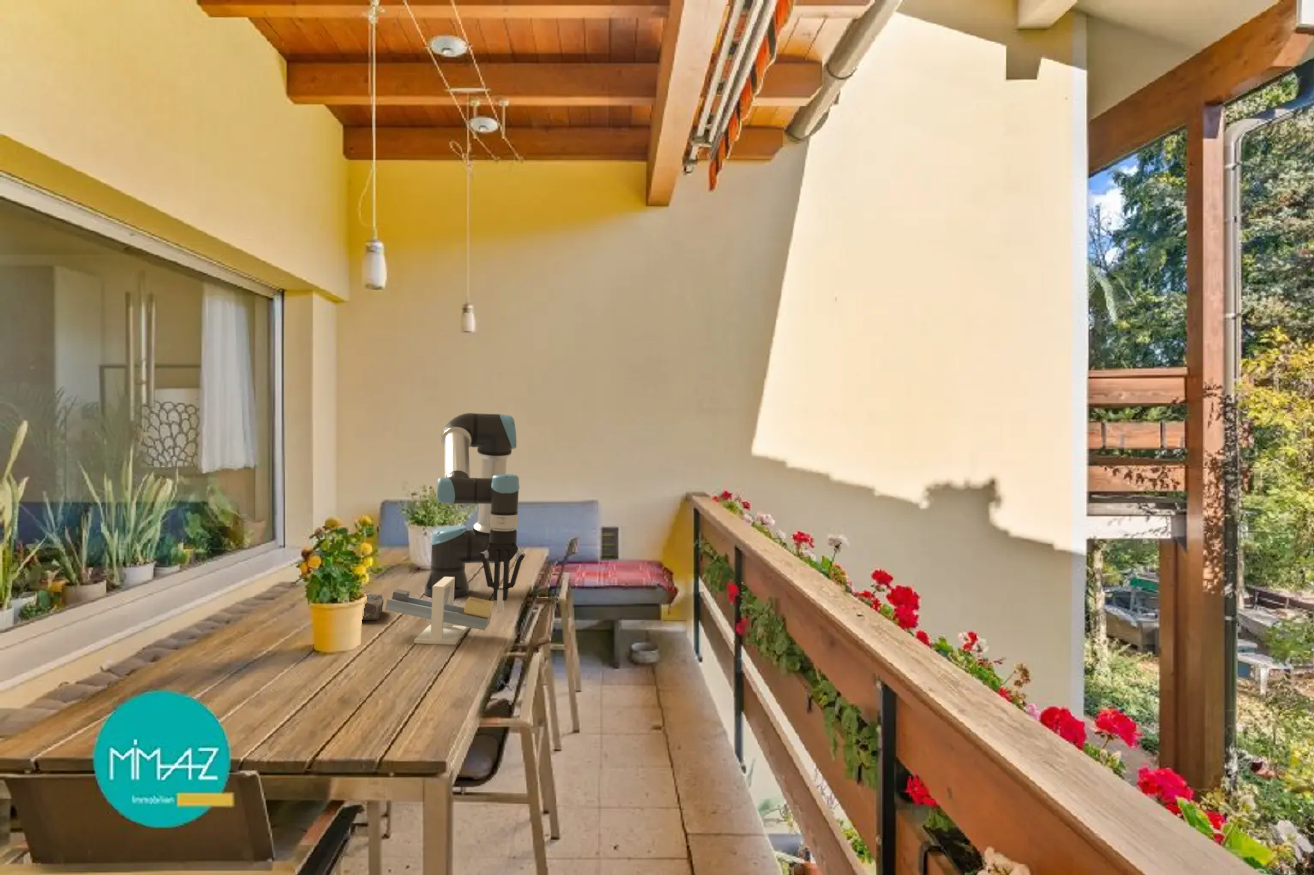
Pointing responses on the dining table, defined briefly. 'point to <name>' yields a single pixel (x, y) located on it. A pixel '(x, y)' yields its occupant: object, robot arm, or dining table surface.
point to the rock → (373, 607)
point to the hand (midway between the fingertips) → (500, 611)
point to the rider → (478, 608)
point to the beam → (424, 609)
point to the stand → (441, 617)
